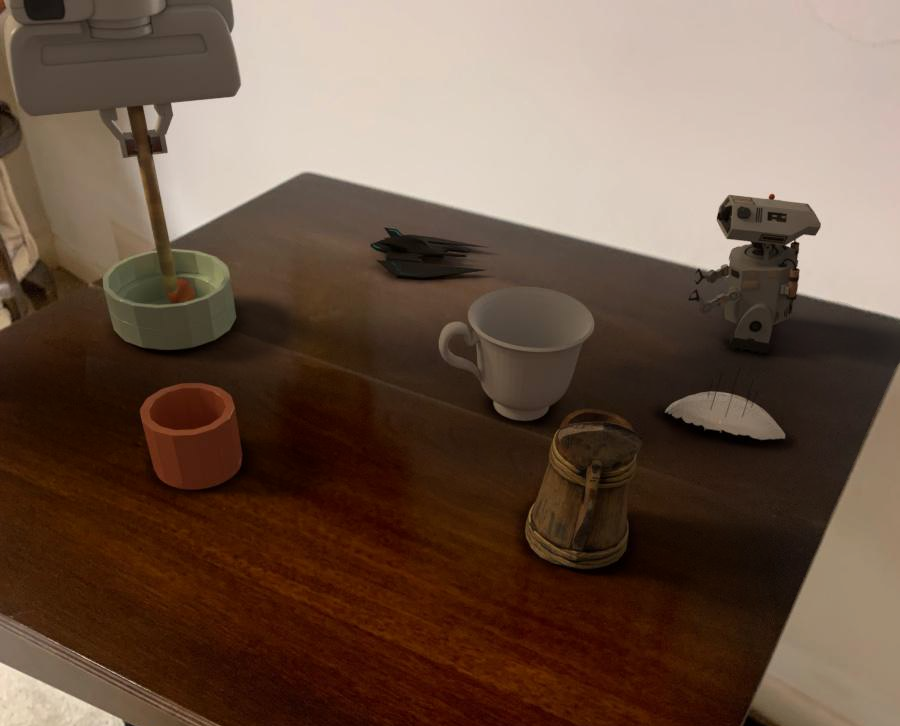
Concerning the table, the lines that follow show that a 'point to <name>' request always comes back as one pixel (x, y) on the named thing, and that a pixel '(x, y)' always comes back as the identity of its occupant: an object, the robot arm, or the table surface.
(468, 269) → the black starfighter
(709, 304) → the figurine
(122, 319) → the bowl
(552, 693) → the table surface
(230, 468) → the holder
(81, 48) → the robot arm
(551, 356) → the teacup
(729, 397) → the pincushion
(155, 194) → the stirring stick
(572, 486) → the wooden mug
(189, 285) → the bead
